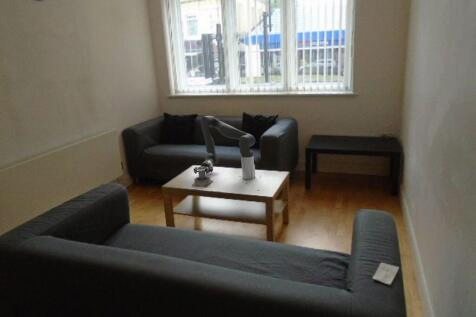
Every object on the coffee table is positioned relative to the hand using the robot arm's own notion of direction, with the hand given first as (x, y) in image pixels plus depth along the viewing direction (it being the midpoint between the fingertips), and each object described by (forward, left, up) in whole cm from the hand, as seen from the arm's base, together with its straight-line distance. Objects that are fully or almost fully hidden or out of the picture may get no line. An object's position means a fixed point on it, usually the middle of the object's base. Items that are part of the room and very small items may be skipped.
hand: (200, 172), depth 275 cm
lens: (0, -2, -8) cm, 9 cm away
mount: (0, -2, -10) cm, 10 cm away
